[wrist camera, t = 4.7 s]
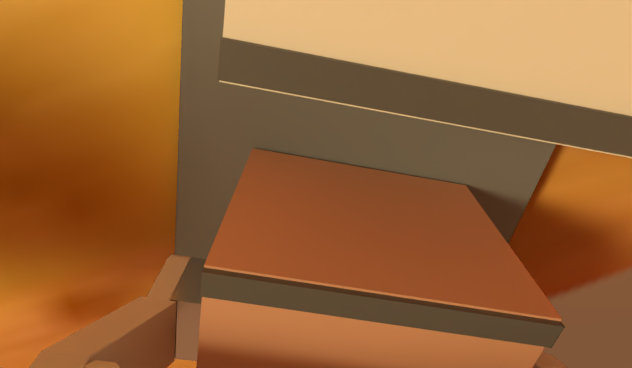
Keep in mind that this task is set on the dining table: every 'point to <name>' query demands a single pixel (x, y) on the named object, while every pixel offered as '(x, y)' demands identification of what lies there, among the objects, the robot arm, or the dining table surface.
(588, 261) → the dining table surface
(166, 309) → the robot arm
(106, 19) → the dining table surface
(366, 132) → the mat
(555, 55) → the cream rectangular block
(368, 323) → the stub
